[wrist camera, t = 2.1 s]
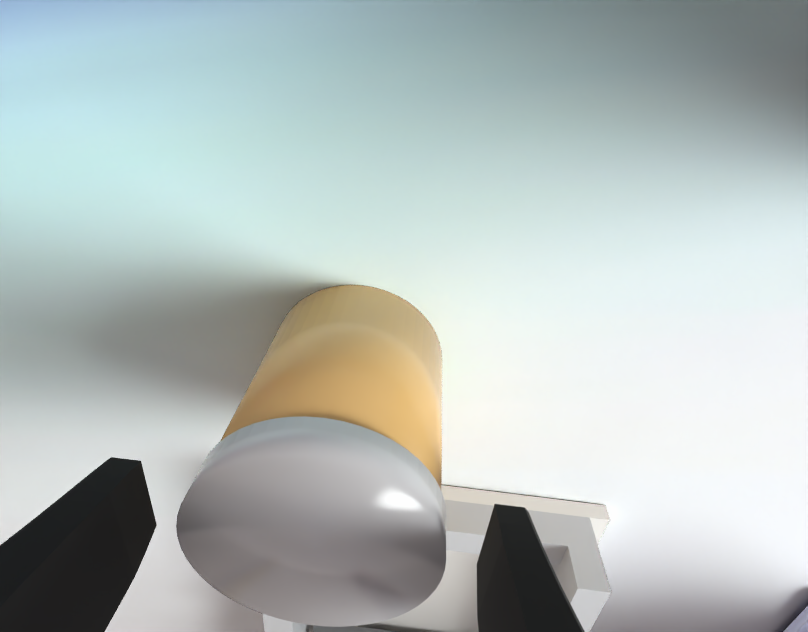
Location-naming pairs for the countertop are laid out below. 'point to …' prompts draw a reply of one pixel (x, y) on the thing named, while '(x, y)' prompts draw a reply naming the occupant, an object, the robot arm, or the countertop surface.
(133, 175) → the countertop surface
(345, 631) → the pusher
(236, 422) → the amber jar
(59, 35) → the countertop surface
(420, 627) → the tray
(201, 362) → the countertop surface
